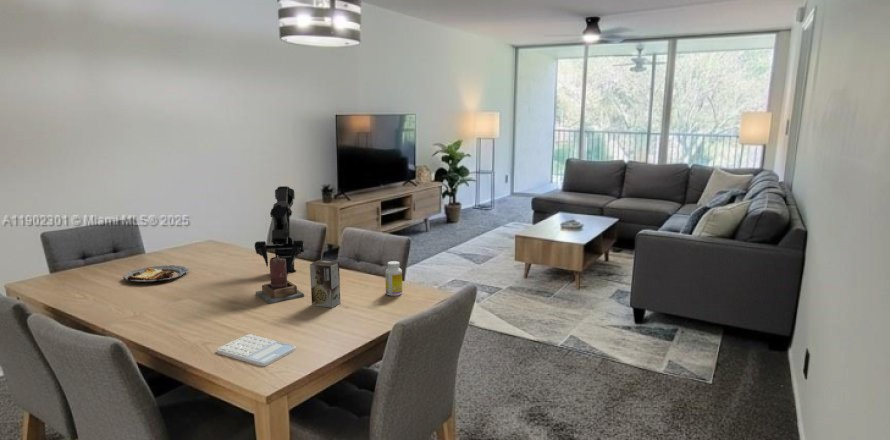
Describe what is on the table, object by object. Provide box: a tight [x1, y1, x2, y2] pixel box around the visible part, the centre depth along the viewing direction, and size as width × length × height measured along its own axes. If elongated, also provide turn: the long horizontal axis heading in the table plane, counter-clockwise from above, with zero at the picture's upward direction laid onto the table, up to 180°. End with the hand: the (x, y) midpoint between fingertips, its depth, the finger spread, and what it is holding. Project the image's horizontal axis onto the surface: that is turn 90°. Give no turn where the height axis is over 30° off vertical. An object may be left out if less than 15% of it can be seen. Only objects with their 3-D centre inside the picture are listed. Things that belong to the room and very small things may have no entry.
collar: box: [255, 279, 305, 305], centre depth 211 cm, size 14×14×4 cm
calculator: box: [216, 333, 297, 367], centre depth 162 cm, size 13×20×2 cm, turn 63°
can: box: [269, 256, 288, 290], centre depth 210 cm, size 6×6×14 cm
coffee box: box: [309, 259, 341, 309], centre depth 201 cm, size 9×6×16 cm
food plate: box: [123, 264, 190, 283], centre depth 233 cm, size 25×23×4 cm
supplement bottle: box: [384, 260, 403, 297], centre depth 214 cm, size 7×7×13 cm
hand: (279, 265), depth 212 cm, fingers open, 9 cm apart
